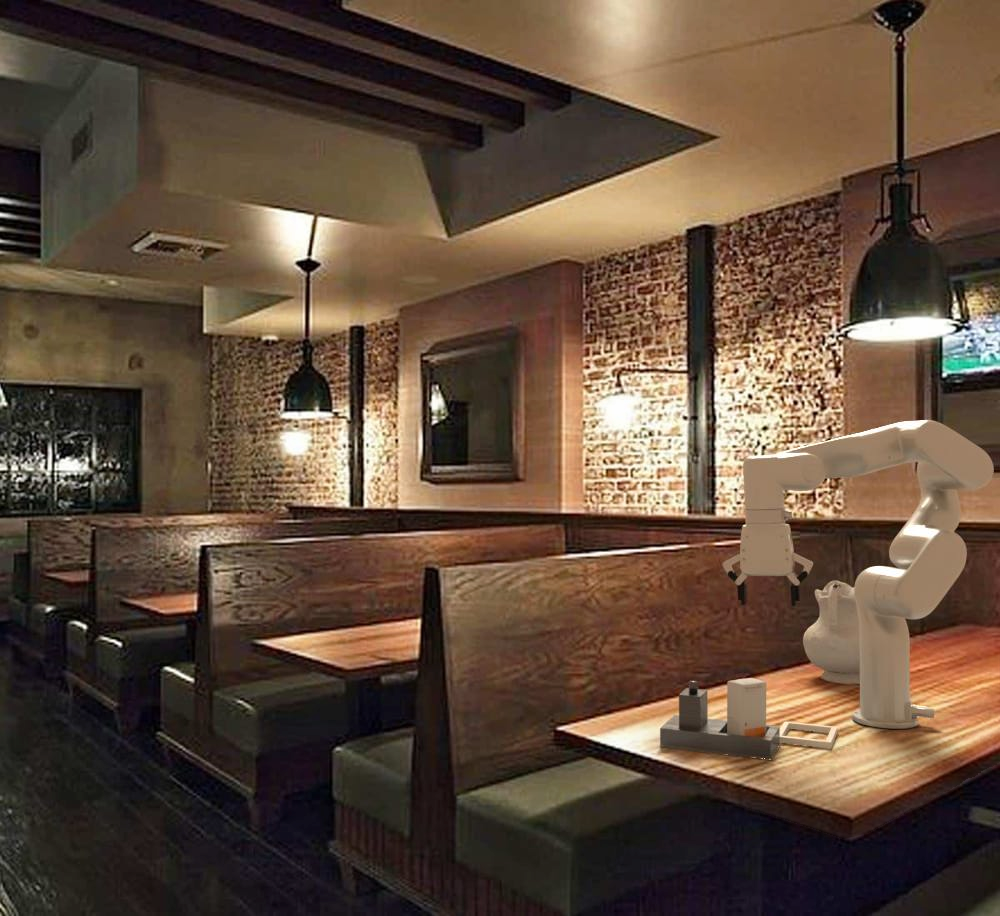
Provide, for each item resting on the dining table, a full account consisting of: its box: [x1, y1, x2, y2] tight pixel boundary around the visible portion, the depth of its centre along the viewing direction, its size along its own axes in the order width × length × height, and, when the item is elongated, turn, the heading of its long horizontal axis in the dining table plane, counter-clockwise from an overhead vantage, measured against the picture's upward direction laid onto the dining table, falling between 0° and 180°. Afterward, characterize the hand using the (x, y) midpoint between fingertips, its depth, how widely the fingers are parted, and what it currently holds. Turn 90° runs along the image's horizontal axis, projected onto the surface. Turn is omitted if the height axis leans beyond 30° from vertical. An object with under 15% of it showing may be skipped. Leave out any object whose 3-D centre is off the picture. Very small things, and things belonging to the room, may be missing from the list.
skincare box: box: [726, 677, 767, 738], centre depth 177 cm, size 6×4×12 cm
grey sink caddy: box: [659, 680, 781, 760], centre depth 179 cm, size 20×10×12 cm, turn 65°
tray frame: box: [780, 721, 838, 750], centre depth 184 cm, size 10×12×1 cm
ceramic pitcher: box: [802, 579, 860, 686], centre depth 235 cm, size 22×20×25 cm
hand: (768, 604), depth 189 cm, fingers open, 9 cm apart
